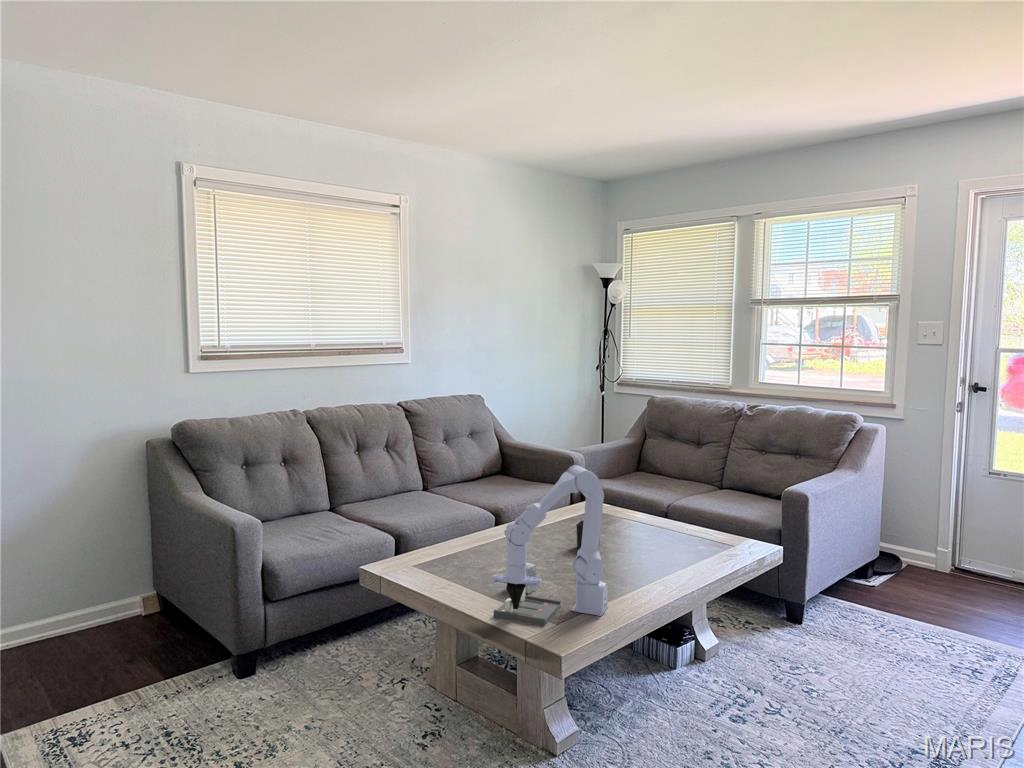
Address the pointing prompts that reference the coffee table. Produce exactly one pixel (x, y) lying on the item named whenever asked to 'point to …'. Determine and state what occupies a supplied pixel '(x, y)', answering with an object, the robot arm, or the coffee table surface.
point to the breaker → (523, 596)
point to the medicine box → (532, 573)
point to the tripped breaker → (508, 605)
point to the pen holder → (580, 534)
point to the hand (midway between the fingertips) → (516, 607)
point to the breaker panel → (531, 610)
